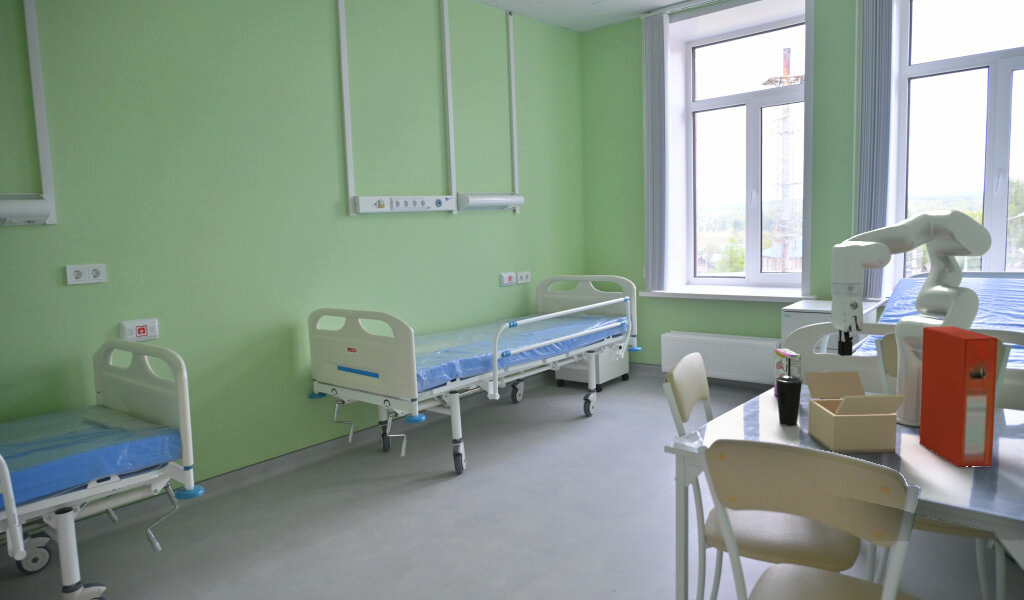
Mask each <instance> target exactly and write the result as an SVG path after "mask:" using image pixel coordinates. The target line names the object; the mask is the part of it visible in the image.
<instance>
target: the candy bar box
mask: <svg viewBox="0 0 1024 600" xmlns="http://www.w3.org/2000/svg"><path fill="white" fill-rule="evenodd" d="M773 354H774V355H773V356H774V357H773V358H774V361H773V362H774V363H773V364H774V366H773V367H774V372H773V373H774V377H773V379H774V380H773V381H774V382H773V383H774V384H773V387H774V389H773V395H774V396H776V397H777V398H778V396H777V384H776V380H775V378H776V377H779V376H782V375H788V358H791V369H790V375H794V376H797V377H799V378H801V357H802V356H801V354H799V353H797V352H795V351H793V350H791V349H789V348H774V352H773ZM800 403H801V401H800V402H799V404H800Z"/></svg>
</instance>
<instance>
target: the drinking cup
mask: <svg viewBox="0 0 1024 600" xmlns="http://www.w3.org/2000/svg"><path fill="white" fill-rule="evenodd" d="M790 369H791V358H788V375H782V376H779V377H776V378H775V380H776V384H777V396H778V397H777V396H776V397H777V408H778V409H777V410H778V417H779V418H778V419H779V420H778V421H779V424H780V425H783V426H786V427H787V426H788V427H792V426H797V425H798V418H799V417H798V416H799V409H800V408H799V407H800V403H801V391H802V386H803V385H802V384H803V383H804V380H803V378H801V377H800V378H799V377H797V376H794V375H790ZM799 402H800V403H799Z"/></svg>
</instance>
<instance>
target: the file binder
mask: <svg viewBox="0 0 1024 600" xmlns="http://www.w3.org/2000/svg"><path fill="white" fill-rule="evenodd" d="M998 339H999V338H998V337H996V336H995V337H994V336H991V335H988V334H983V333H979V332H976V331H973V330H970V329H969V330H965V329H961V328H958V327H954V326H948V327H925V328H923V353H922V384H921V416H920V427H919V444H920V445H921V444H922V445H923V446H922V445H921V446H922V447H924V446H925V447H924V448H926V449H927V448H928V450H929V449H930V450H929V451H931V450H932V451H933V453H934V452H935V453H934V454H936V453H937V454H938V455H937V454H936V455H937V456H939V455H940V456H939V457H941V456H942V457H943V458H942V457H941V458H942V459H944V458H945V459H944V460H946V459H947V460H948V461H947V460H946V461H947V462H949V461H950V462H949V463H951V462H952V463H953V464H952V463H951V464H952V465H954V464H955V465H954V466H956V465H957V466H958V467H957V466H956V467H957V468H959V467H966V466H968V467H972V466H990V467H992V466H993V451H994V449H993V447H994V429H995V428H994V425H995V404H996V402H995V401H996V386H997V385H996V382H997V378H996V377H997V360H998V358H997V357H998ZM932 451H931V452H932Z"/></svg>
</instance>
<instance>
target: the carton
mask: <svg viewBox="0 0 1024 600" xmlns="http://www.w3.org/2000/svg"><path fill="white" fill-rule="evenodd" d="M842 400H843V398H840V399H824V400H821V399H808V435H810V437H811V438H813V439H814V440H816V441H817V442H818V443H820V444H821V445H822V446H823V447H824V448H826V449H827V450H828V451H830V452H831V451H833V452H838V453H837V454H863V453H865V454H867V453H868V454H869V453H872V454H873V453H874V454H876V453H896V447H897V446H896V445H897V443H896V442H897V424H898V423H897V415H896V414H894V413H886V414H835V412H836V410H837V408H838V407H839V405H840V403H841V402H842ZM844 452H845V453H844Z"/></svg>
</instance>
